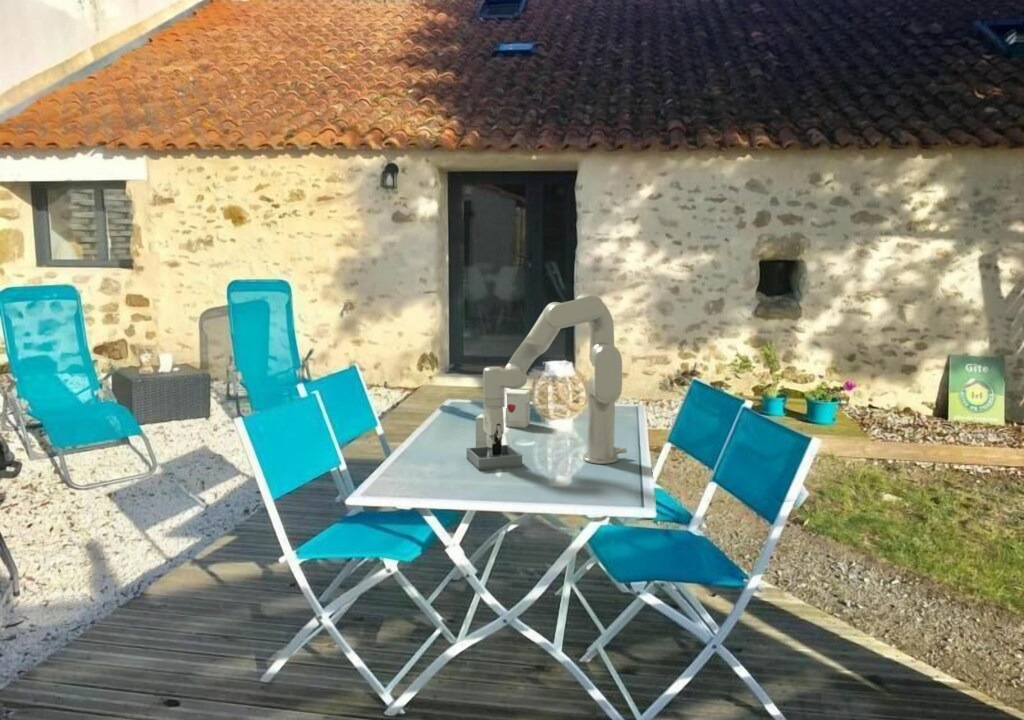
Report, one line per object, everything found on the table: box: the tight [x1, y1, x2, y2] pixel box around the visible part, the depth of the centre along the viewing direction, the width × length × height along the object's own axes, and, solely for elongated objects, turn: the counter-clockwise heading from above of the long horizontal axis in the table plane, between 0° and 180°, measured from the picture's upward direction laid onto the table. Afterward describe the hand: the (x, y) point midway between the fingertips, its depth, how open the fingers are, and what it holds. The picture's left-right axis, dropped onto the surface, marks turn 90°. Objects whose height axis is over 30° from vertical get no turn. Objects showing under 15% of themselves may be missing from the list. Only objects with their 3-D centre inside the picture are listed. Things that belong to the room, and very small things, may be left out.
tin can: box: [487, 433, 503, 458], centre depth 270 cm, size 5×5×8 cm
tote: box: [466, 444, 523, 471], centre depth 271 cm, size 16×16×4 cm
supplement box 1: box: [475, 413, 487, 447], centre depth 289 cm, size 7×7×13 cm
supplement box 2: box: [505, 388, 531, 429], centre depth 328 cm, size 9×9×15 cm
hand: (494, 452), depth 270 cm, fingers closed on tin can, 5 cm apart
